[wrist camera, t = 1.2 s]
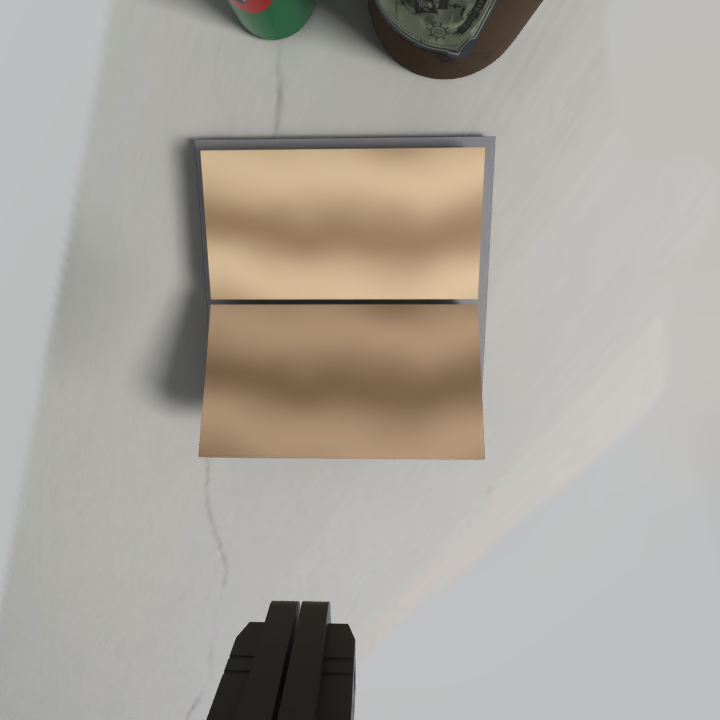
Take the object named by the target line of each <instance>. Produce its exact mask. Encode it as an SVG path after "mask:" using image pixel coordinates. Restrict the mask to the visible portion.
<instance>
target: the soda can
mask: <svg viewBox="0 0 720 720" xmlns="http://www.w3.org/2000/svg"><path fill="white" fill-rule="evenodd" d="M227 1H228V3H229V5H230V7H231V8H232V10H233V12H234V13H235V15H236V17H237V18H238V20H239V21H240V23H241V24H242V25H243V26H244V27H245V28H246V29H247V30H248V31H250V32H251V33H253V34H254V35H256V36H258V37H261V38H264V39H270V40H277V39H283V38H287V37H289V36H291V35H293V34H295V33H296V32H298V31H299V30H300V29H301V28H302V27H303V26H304V25H305V24H306V22H307V21H308V19H309V18H310V16H311V14H312V11H313V9H314V6H315V1H316V0H227Z"/></svg>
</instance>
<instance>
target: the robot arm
mask: <svg viewBox="0 0 720 720" xmlns="http://www.w3.org/2000/svg"><path fill="white" fill-rule="evenodd" d="M355 689H356V687H355V638H354V636H353V634H352V632H351V629H350V627H349V625H348V624H331V617H330V602H314V601H303V602H302V605H301V610H300V602H299V601H272V602H271V604H270V607H269V610H268V613H267V617H266V620H265V622H249V624H248V625H247V626H246V627H245V628H244V629H243V630H242V632H241V633H240V634H239V635H238V636H237V637H236V640H235V643H234V645H233V648H232V651H231V654H230V658H229V659H228V662H227V665H226V667H225V670H224V674H223V676H222V678H221V681H220V684H219V687H218V689H217V692H216V695H215V698H214V700H213V703H212V706H211V709H210V711H209V714H208V717H207V720H354V708H355Z"/></svg>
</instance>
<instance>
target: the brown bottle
mask: <svg viewBox="0 0 720 720" xmlns="http://www.w3.org/2000/svg"><path fill="white" fill-rule="evenodd" d="M542 1H543V0H368V5H369V11H370V15H371V19H372V22H373V25H374V28H375V30H376V32H377V34H378V36H379V38H380V40H381V42H382V43H383V45H384V46H385V48H386V49H387V50H388V52H389V53H390V54H391V55H392V56H393V57H394V58H395V59H396V60H397V61H398V62H399V63H400V64H402V65H403V66H404V67H406V68H408V69H409V70H411V71H413V72H415V73H417V74H420V75H422V76H426V77H430V78H435V79H455V78H461V77H465V76H468V75H471V74H473V73H476V72H478V71H480V70H482V69H483V68H485V67H487V66H488V65H490V64H491V63H493V62H494V61H495V60H496V59H498V58H499V57H500V56H501V55H502V54H503V53H504V52H505V51H506V50H507V48H508V47H509V46H510V45H511V44H512V42H513V41H514V40H515V38H516V37H517V36H518V34H519V33H520V31H521V30H522V29H523V27H524V26H525V25H526V23H527V22H528V20H529V19H530V18H531V16H532V15H533V14H534V12H535V11H536V9H537V8H538V7H539V5H540V4H541V3H542Z"/></svg>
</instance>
